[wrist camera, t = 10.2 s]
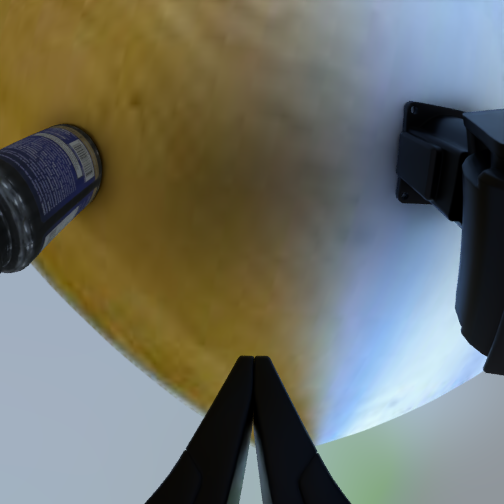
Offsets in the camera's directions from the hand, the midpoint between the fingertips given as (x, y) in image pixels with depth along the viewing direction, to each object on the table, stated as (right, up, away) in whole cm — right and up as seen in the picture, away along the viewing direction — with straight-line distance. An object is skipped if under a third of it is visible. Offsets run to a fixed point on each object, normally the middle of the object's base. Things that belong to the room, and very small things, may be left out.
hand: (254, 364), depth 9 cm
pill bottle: (-12, +9, +9) cm, 18 cm away
